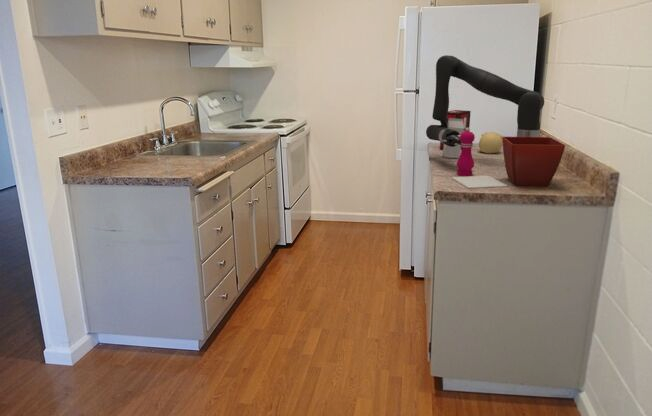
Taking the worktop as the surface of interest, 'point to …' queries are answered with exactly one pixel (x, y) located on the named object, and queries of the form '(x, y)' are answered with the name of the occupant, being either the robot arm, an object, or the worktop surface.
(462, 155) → the pepper mill
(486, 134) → the tan ball
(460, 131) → the milk carton
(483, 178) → the mat
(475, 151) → the worktop surface
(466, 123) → the cleaning product box
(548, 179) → the plant pot
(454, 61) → the robot arm
